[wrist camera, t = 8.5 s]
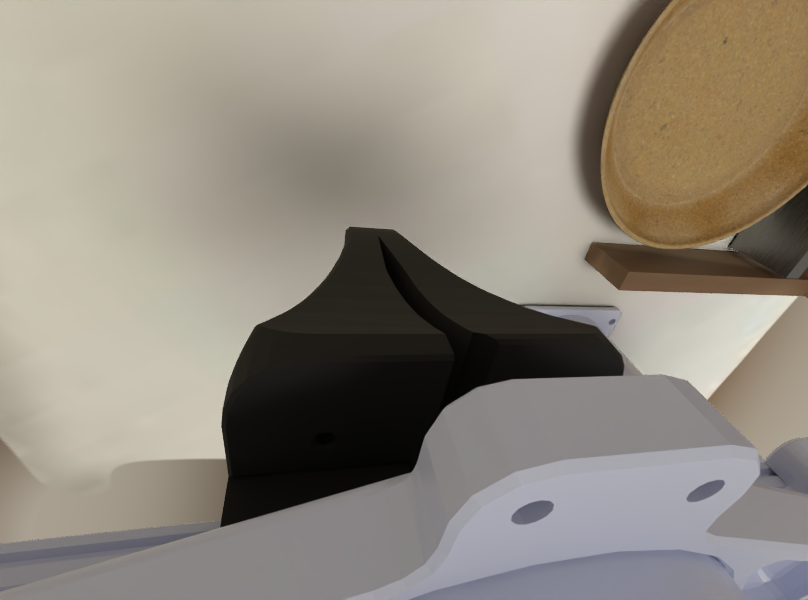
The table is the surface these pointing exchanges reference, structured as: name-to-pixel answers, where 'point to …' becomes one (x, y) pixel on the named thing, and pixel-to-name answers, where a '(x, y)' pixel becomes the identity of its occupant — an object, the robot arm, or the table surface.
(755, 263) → the brown wooden open box
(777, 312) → the table surface
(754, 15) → the plant saucer
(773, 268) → the pusher plate
